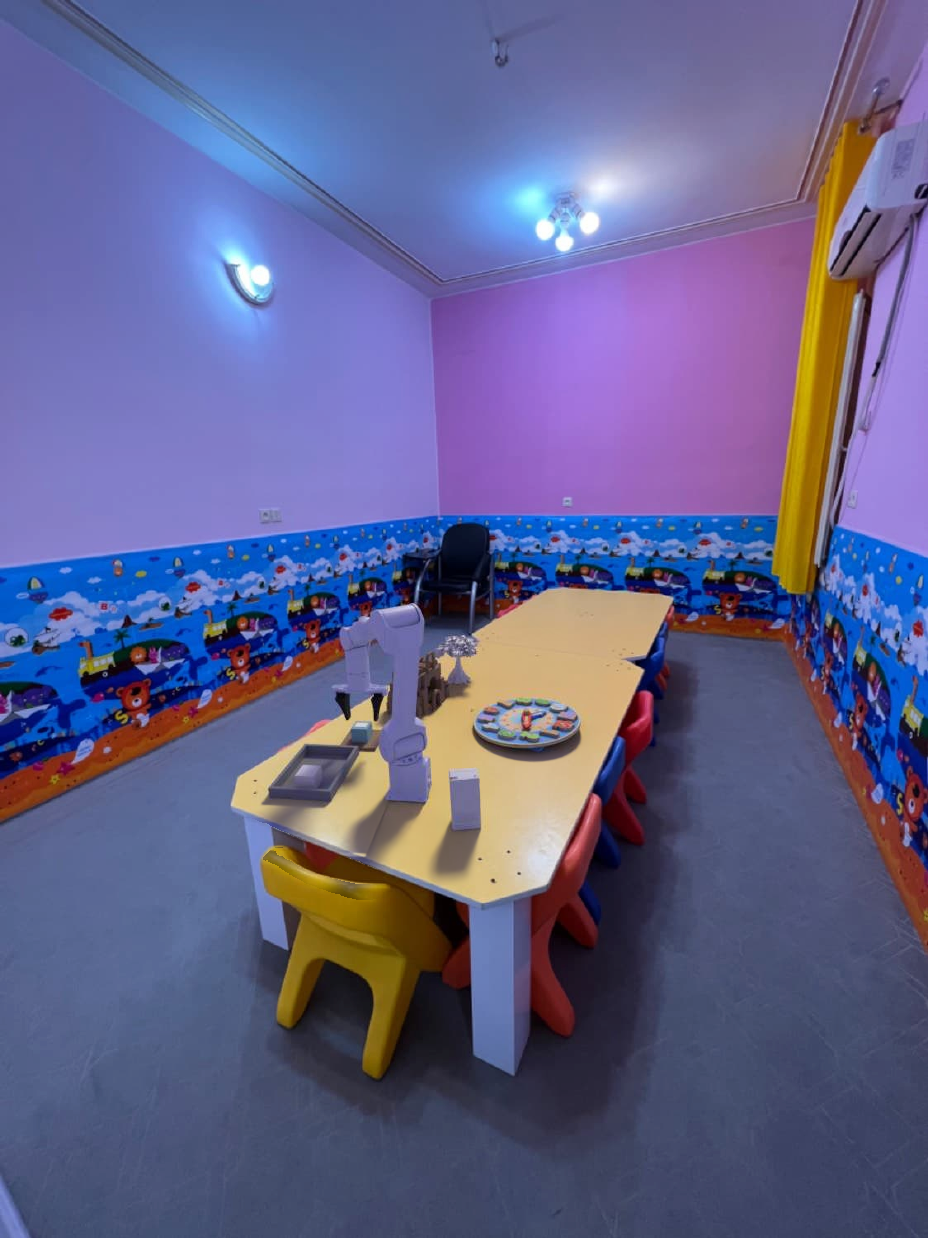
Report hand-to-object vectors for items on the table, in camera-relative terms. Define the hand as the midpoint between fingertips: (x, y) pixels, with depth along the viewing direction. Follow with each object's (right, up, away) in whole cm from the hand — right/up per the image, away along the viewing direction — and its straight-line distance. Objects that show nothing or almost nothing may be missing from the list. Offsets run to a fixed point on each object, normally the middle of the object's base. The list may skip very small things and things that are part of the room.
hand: (362, 719), depth 128 cm
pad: (-1, -8, +6) cm, 10 cm away
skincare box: (+27, -17, -27) cm, 42 cm away
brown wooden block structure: (+12, -1, +30) cm, 32 cm away
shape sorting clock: (+45, -6, +13) cm, 47 cm away
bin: (-9, -12, -9) cm, 18 cm away
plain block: (-10, -13, -14) cm, 21 cm away
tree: (+25, +4, +48) cm, 54 cm away
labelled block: (-1, -6, +6) cm, 9 cm away
